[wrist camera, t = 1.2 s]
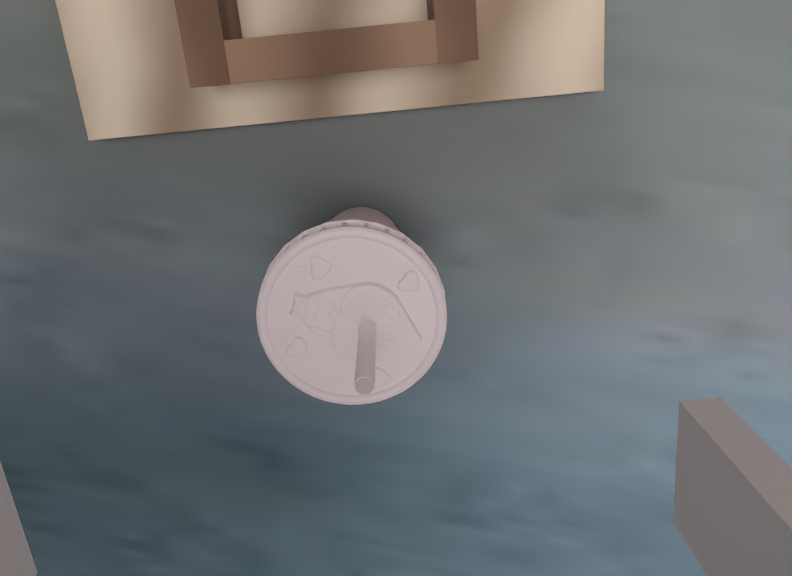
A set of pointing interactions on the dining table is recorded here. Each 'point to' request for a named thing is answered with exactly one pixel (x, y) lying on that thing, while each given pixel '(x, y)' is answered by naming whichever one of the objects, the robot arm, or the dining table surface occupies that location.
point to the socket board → (318, 58)
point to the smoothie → (352, 310)
